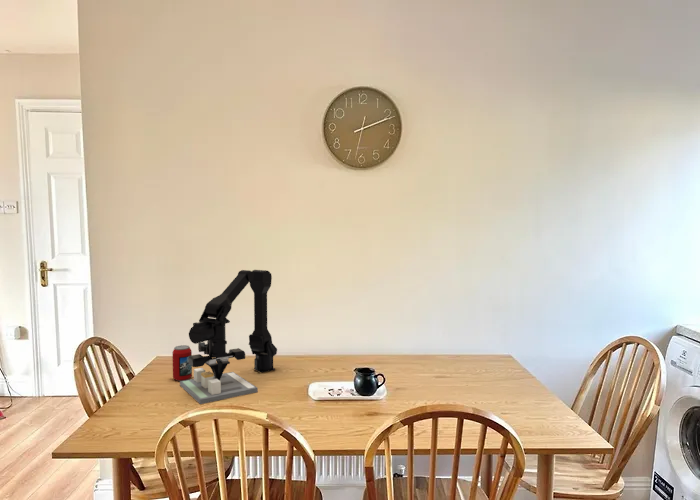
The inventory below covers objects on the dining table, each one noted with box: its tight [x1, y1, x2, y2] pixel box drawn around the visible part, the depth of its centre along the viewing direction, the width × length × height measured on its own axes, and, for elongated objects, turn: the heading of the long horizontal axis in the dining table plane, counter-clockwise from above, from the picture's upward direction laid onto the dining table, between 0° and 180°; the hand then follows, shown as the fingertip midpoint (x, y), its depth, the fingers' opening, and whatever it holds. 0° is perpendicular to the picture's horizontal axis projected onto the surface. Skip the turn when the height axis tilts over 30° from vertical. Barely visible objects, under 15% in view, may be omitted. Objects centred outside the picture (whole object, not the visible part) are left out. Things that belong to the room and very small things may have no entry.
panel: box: [179, 371, 259, 405], centre depth 175 cm, size 20×22×2 cm
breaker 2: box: [208, 379, 221, 395], centre depth 166 cm, size 3×4×4 cm
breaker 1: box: [193, 367, 206, 383], centre depth 179 cm, size 3×4×4 cm
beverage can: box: [172, 344, 193, 382], centre depth 185 cm, size 7×7×12 cm
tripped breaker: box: [201, 371, 214, 388], centre depth 173 cm, size 3×4×4 cm
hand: (217, 381), depth 175 cm, fingers closed
